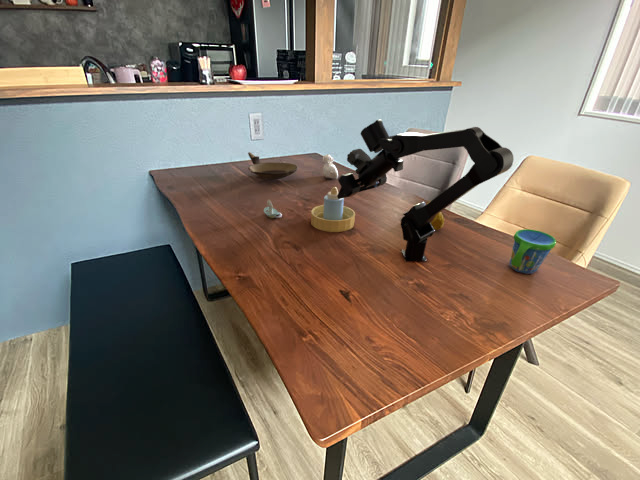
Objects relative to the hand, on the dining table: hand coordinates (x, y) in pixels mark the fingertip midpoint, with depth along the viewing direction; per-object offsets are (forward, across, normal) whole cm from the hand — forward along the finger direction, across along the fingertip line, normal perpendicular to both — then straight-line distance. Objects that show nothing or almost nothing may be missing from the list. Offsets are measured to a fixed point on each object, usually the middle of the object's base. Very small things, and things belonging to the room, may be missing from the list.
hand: (347, 194), depth 118 cm
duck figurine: (+34, -40, -28) cm, 60 cm away
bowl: (+12, 0, +5) cm, 13 cm away
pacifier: (+26, +10, -9) cm, 30 cm away
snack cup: (-30, -17, +47) cm, 58 cm away
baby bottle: (+12, 0, +4) cm, 13 cm away
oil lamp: (+54, -22, -36) cm, 68 cm away
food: (-4, -29, +21) cm, 36 cm away
